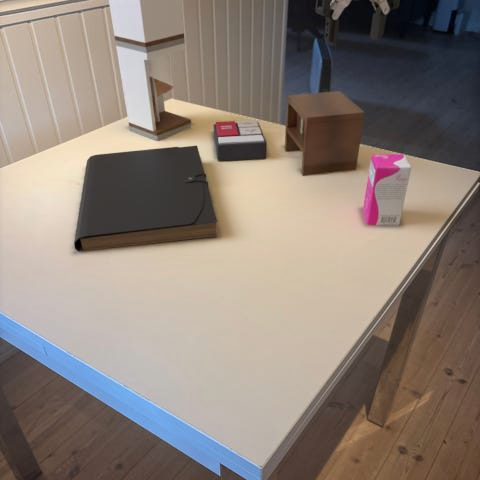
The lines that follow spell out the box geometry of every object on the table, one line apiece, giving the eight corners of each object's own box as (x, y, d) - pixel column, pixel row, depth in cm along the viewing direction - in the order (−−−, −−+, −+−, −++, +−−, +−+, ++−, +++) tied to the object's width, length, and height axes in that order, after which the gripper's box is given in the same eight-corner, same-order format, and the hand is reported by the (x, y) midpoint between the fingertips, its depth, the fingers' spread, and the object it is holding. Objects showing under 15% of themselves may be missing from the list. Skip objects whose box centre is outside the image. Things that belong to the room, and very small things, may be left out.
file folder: (218, 219, 82) (71, 236, 79) (219, 240, 84) (77, 257, 82) (197, 143, 106) (85, 154, 103) (199, 161, 109) (89, 172, 106)
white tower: (157, 140, 118) (135, -38, 95) (129, 130, 123) (102, -41, 100) (191, 127, 124) (178, -43, 101) (163, 118, 130) (144, -46, 106)
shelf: (333, 144, 115) (339, 90, 107) (356, 169, 105) (365, 112, 97) (284, 149, 113) (287, 95, 105) (302, 175, 103) (307, 117, 95)
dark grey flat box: (258, 118, 118) (266, 139, 106) (258, 136, 121) (266, 158, 109) (213, 120, 117) (216, 141, 106) (214, 138, 120) (217, 161, 108)
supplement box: (392, 212, 91) (405, 153, 83) (398, 229, 86) (413, 168, 79) (361, 212, 91) (371, 152, 83) (365, 229, 87) (376, 167, 79)
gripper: (340, -81, 66) (327, 52, 77) (425, -84, 70) (402, 42, 81) (313, -82, 72) (305, 42, 82) (394, -86, 76) (376, 33, 86)
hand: (353, 42), depth 82 cm, fingers open, 8 cm apart
